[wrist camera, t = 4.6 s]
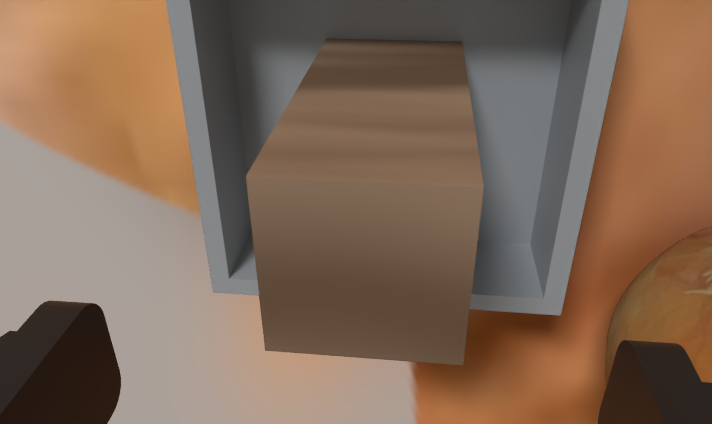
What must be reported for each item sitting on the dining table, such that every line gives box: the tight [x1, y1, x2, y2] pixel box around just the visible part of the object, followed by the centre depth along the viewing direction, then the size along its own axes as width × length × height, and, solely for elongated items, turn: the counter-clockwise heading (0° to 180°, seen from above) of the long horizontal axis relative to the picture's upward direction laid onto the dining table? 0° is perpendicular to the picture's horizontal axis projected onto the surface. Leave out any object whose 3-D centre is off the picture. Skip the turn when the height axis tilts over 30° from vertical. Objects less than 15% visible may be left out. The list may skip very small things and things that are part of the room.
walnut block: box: [246, 38, 484, 365], centre depth 15 cm, size 4×4×9 cm
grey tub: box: [166, 0, 629, 316], centre depth 18 cm, size 11×11×4 cm
